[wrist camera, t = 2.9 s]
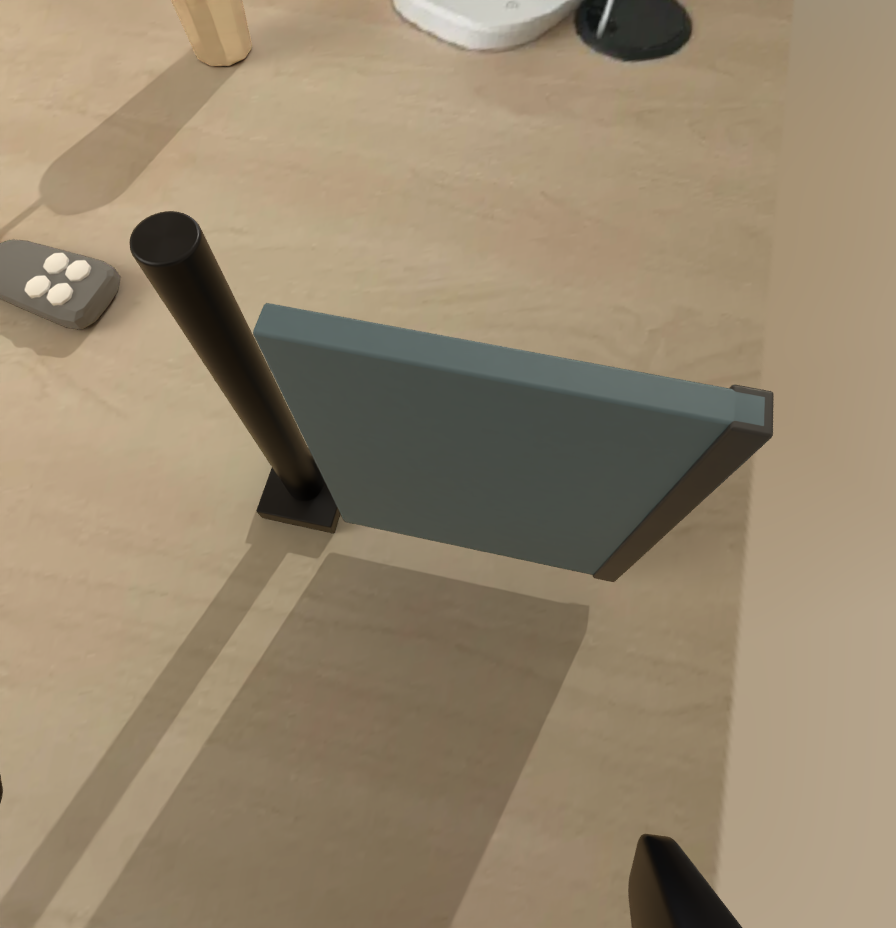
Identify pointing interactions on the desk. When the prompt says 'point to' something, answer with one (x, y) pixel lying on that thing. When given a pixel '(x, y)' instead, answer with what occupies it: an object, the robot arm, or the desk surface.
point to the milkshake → (215, 29)
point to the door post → (233, 364)
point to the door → (505, 439)
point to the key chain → (56, 283)
